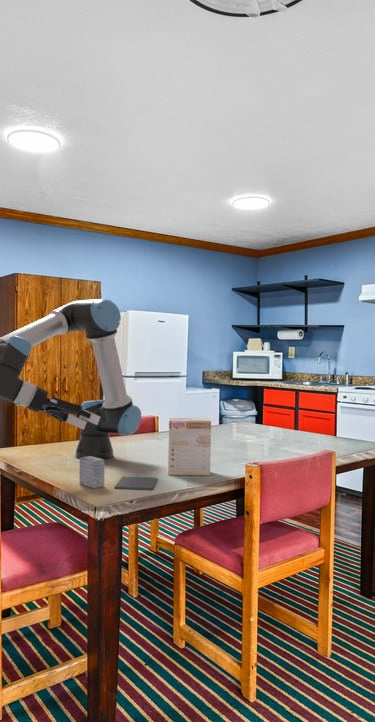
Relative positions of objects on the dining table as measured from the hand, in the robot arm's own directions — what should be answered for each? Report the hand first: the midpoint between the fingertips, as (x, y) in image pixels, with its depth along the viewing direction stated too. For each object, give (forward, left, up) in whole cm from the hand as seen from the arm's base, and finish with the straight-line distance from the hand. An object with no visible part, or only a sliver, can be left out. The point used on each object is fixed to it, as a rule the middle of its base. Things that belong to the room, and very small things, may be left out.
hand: (91, 423), depth 173 cm
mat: (0, +15, -19) cm, 25 cm away
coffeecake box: (-18, +31, -20) cm, 41 cm away
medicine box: (+4, +1, -20) cm, 20 cm away
